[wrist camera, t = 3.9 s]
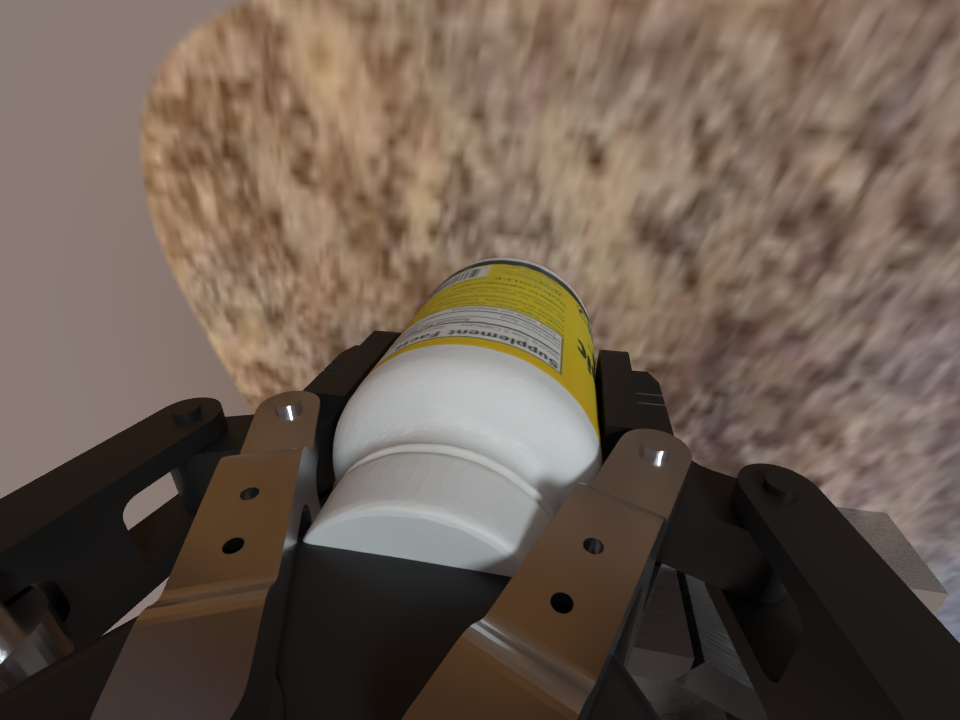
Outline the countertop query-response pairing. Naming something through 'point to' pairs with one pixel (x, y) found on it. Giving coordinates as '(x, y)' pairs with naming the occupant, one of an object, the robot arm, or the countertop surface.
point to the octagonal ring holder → (708, 648)
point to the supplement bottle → (469, 425)
